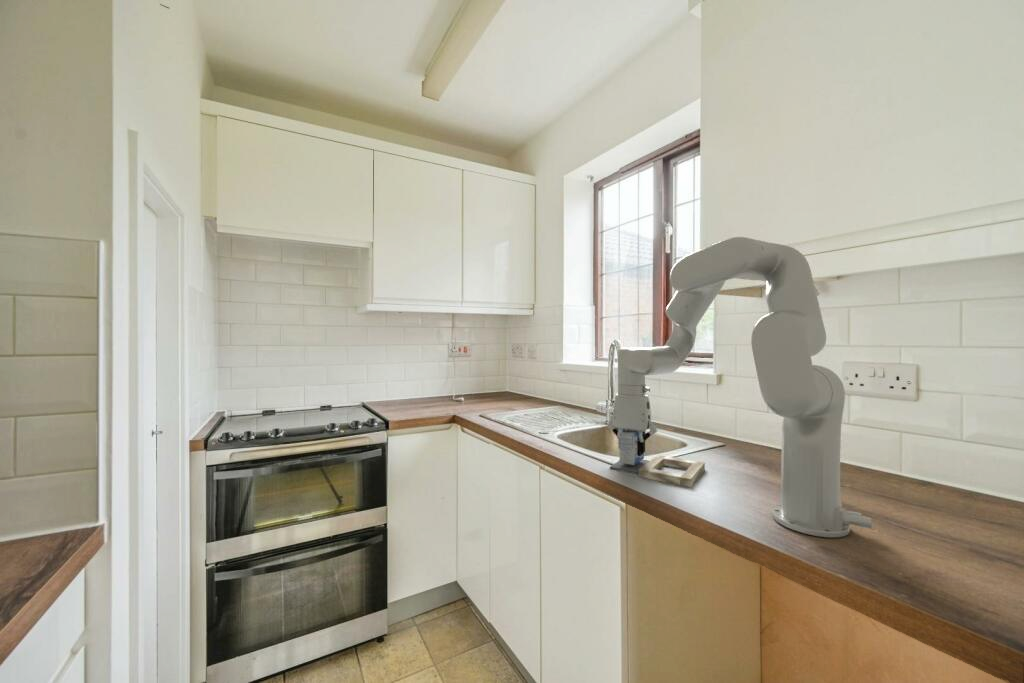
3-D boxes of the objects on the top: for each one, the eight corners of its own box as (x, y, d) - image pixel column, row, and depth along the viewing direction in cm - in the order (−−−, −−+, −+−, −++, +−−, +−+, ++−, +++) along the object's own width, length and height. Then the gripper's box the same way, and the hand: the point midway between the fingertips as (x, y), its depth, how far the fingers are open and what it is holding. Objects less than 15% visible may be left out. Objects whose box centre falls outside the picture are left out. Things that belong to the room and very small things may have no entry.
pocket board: (704, 469, 116) (704, 462, 116) (690, 487, 103) (690, 479, 103) (657, 461, 124) (657, 454, 124) (638, 476, 111) (638, 469, 111)
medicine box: (634, 466, 115) (634, 434, 115) (619, 463, 118) (618, 432, 118) (644, 459, 122) (644, 429, 122) (629, 456, 124) (629, 427, 124)
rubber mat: (651, 462, 123) (651, 460, 123) (637, 474, 113) (637, 472, 113) (625, 458, 127) (625, 456, 127) (609, 468, 118) (609, 466, 118)
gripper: (665, 390, 118) (665, 455, 118) (608, 386, 128) (609, 446, 128) (657, 394, 112) (657, 461, 112) (598, 389, 122) (598, 451, 122)
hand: (631, 452), depth 120 cm, fingers closed on medicine box, 4 cm apart
